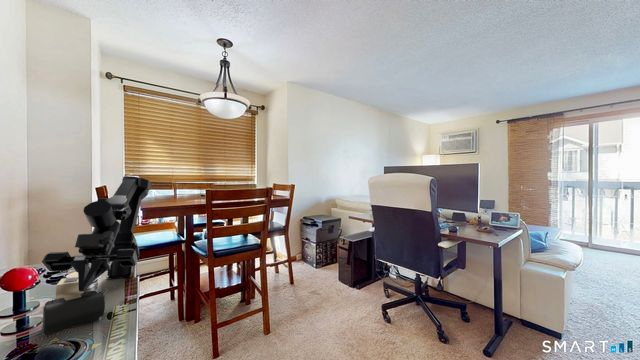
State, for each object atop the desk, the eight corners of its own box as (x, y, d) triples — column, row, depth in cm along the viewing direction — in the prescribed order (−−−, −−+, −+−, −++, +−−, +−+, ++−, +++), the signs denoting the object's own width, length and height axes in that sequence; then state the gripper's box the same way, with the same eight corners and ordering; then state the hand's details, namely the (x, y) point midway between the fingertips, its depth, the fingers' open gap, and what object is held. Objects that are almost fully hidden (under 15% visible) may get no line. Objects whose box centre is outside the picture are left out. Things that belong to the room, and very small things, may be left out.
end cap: (42, 342, 52) (45, 311, 52) (40, 329, 56) (42, 300, 56) (104, 322, 60) (106, 295, 60) (97, 312, 64) (99, 286, 64)
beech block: (83, 292, 74) (85, 275, 74) (80, 298, 70) (81, 281, 70) (60, 295, 71) (61, 278, 71) (55, 303, 67) (56, 284, 67)
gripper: (49, 221, 62) (12, 281, 52) (137, 220, 70) (120, 272, 59) (64, 244, 69) (35, 300, 59) (142, 241, 77) (128, 291, 66)
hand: (81, 290), depth 61 cm, fingers closed, pressing on end cap
